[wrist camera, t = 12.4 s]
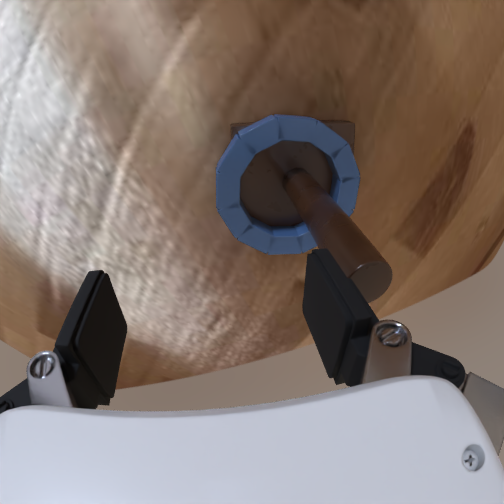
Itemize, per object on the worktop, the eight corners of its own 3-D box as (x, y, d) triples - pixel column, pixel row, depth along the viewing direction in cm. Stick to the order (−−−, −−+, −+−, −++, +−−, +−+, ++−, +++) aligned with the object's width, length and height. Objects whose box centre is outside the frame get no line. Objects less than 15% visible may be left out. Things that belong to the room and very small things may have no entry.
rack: (348, 120, 20) (474, 177, 9) (342, 223, 25) (421, 334, 14) (230, 123, 19) (250, 181, 8) (239, 233, 24) (261, 369, 13)
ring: (358, 122, 19) (368, 126, 18) (338, 242, 24) (345, 252, 23) (216, 113, 18) (216, 115, 16) (217, 245, 23) (217, 256, 22)
